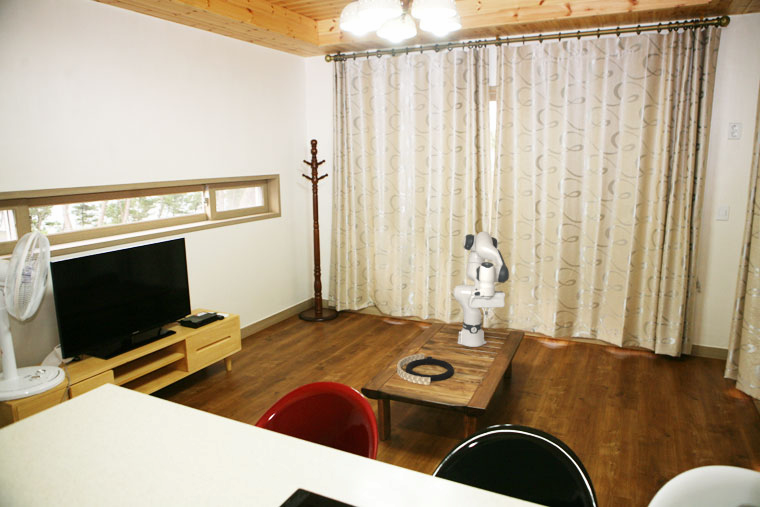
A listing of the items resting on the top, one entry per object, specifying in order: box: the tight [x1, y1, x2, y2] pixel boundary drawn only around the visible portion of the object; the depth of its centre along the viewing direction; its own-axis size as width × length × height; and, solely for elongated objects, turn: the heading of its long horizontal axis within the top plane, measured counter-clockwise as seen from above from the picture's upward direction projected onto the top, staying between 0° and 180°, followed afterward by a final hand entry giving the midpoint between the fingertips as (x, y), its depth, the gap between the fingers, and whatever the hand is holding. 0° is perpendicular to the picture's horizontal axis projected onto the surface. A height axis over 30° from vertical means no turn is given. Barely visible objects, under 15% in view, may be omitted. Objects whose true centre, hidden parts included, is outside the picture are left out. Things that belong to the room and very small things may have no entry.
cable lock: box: [404, 355, 455, 382], centre depth 296 cm, size 28×4×30 cm
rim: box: [396, 353, 431, 386], centre depth 296 cm, size 37×17×4 cm, turn 0°
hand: (486, 314), depth 296 cm, fingers closed
